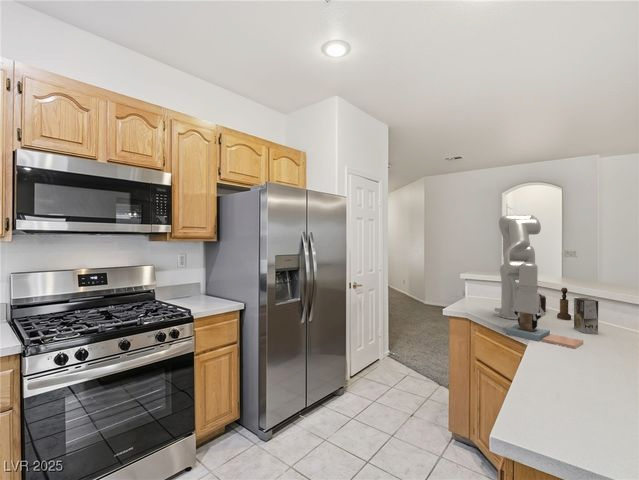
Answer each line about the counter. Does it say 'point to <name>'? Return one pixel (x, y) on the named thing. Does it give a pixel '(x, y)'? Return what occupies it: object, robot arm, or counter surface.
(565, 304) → the wooden chess piece
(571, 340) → the terracotta tile
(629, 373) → the counter surface
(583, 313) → the coffee box
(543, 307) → the dark brown boxy piece
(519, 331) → the pocket plate
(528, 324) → the walnut block
